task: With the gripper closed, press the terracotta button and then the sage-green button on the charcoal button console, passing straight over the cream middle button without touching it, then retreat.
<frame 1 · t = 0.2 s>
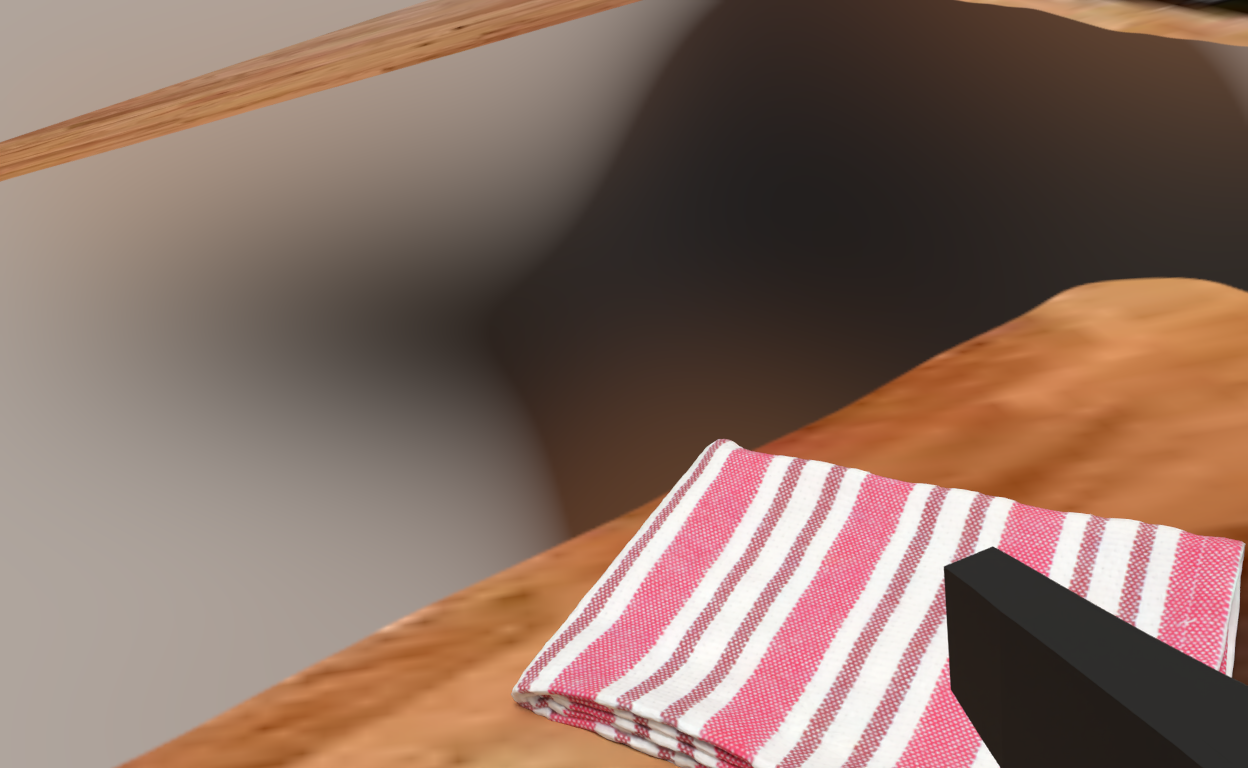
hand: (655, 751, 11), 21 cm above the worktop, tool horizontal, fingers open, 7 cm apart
dish towel: (876, 654, 40), on the worktop
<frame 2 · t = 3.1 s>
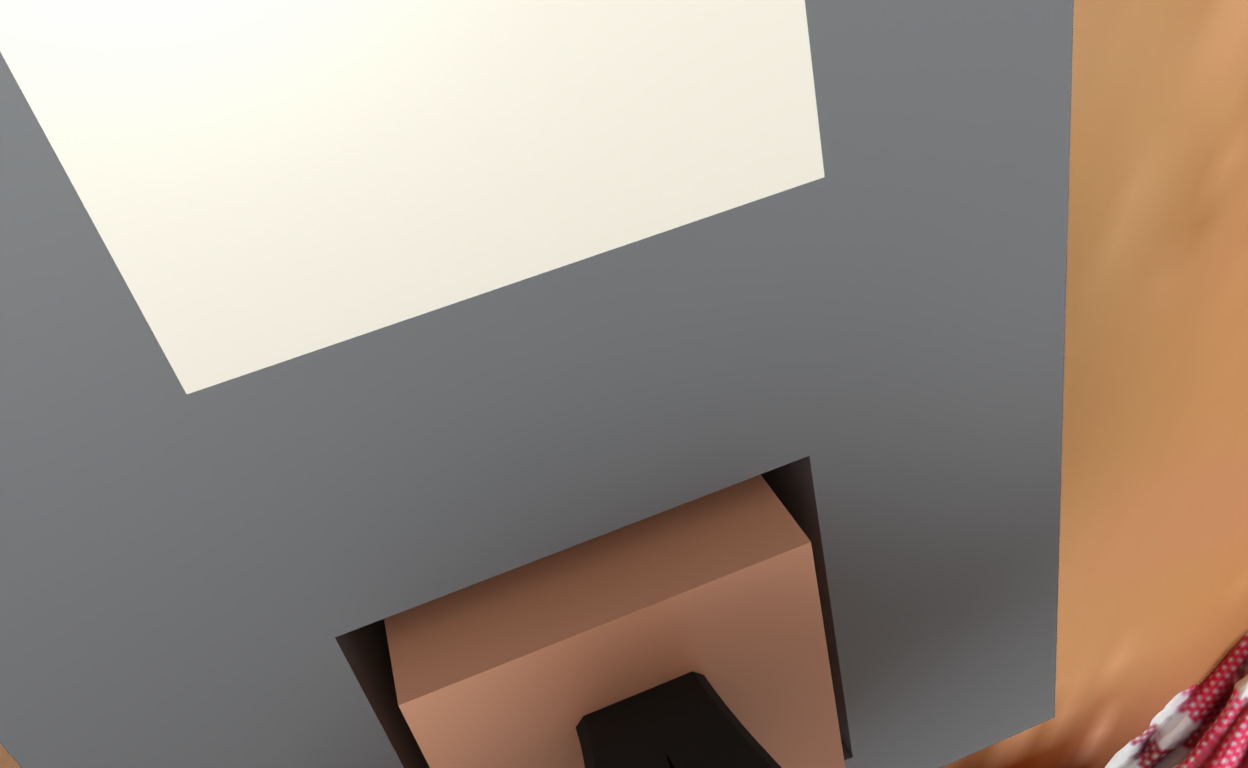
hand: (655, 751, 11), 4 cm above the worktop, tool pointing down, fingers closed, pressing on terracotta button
terracotta button: (612, 659, 12), point 3 cm above the worktop, slide at 1.3 cm, touching gripper
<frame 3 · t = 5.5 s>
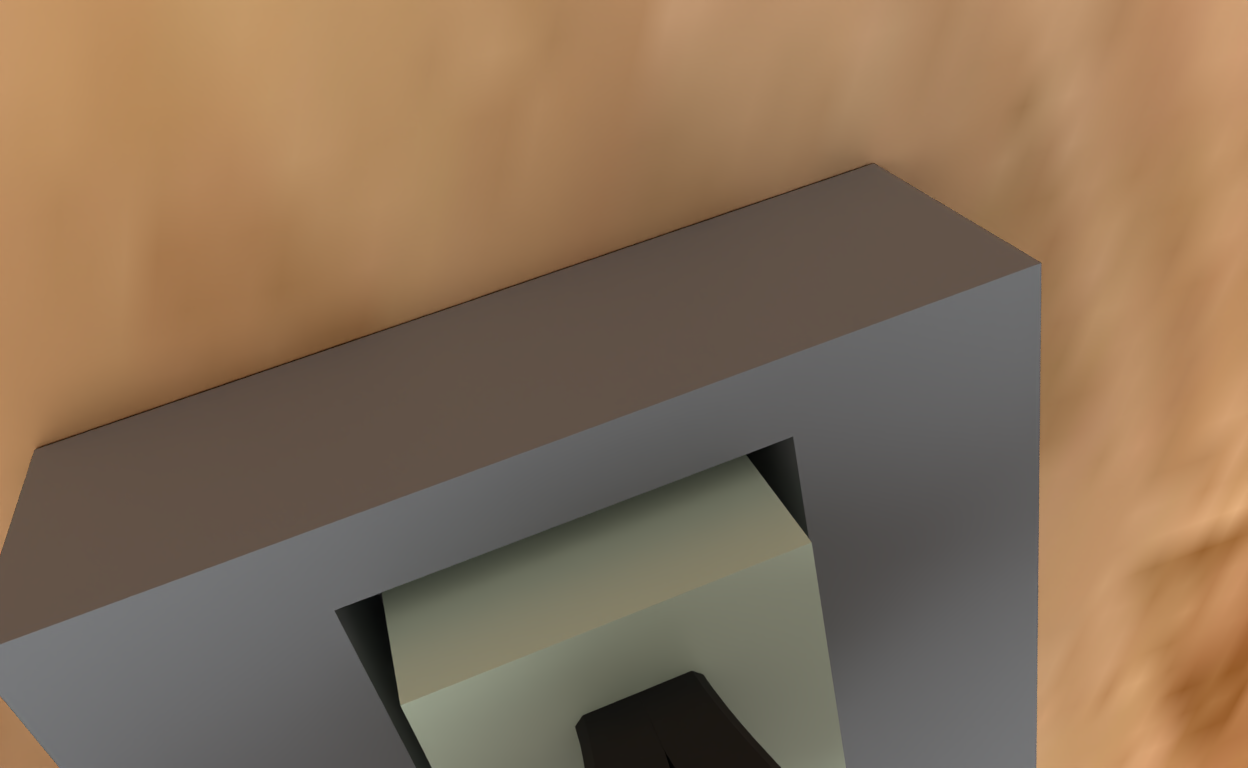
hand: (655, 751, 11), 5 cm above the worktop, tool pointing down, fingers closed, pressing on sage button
sage button: (613, 659, 12), point 3 cm above the worktop, slide at 0.9 cm, touching gripper
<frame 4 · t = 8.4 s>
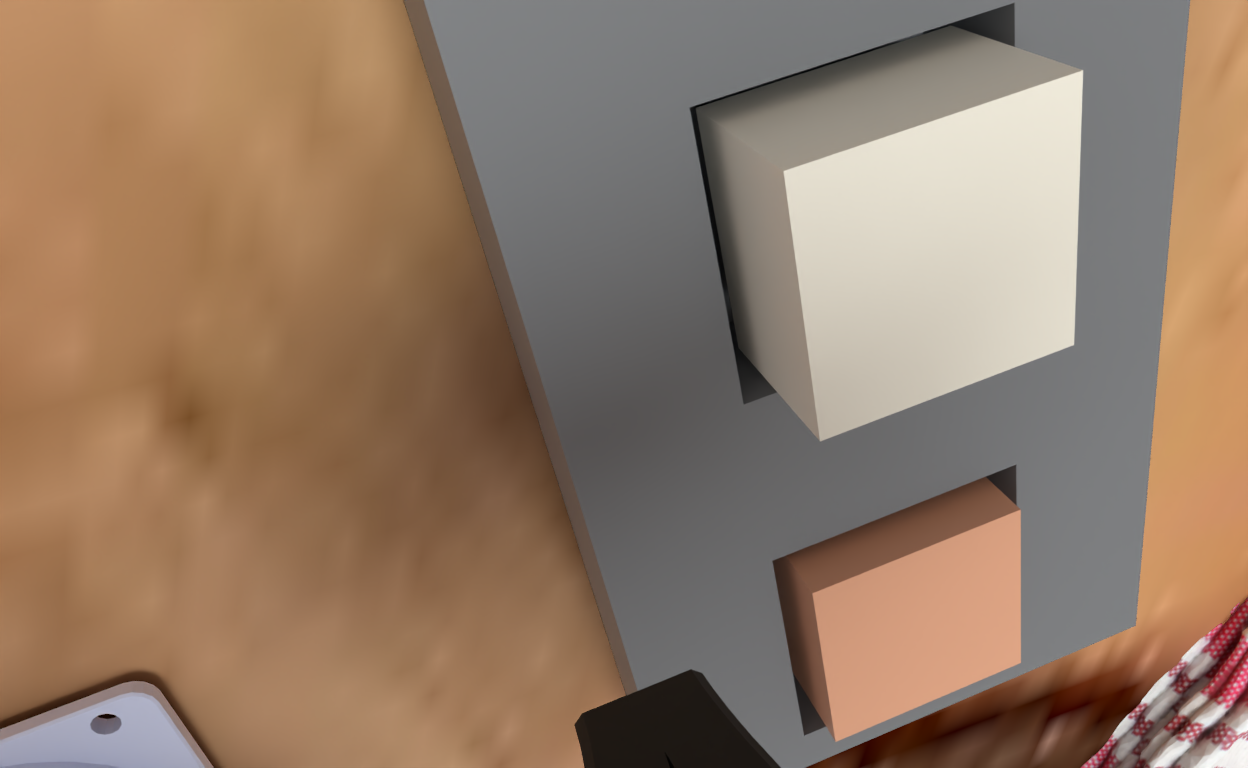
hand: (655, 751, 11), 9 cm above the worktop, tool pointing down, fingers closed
button console: (773, 149, 19), on the worktop
terracotta button: (884, 580, 21), point 3 cm above the worktop, slide at 1.3 cm
cream button: (887, 228, 15), point 4 cm above the worktop, slide at 0.0 cm
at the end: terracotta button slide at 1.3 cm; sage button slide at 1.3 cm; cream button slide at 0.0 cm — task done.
